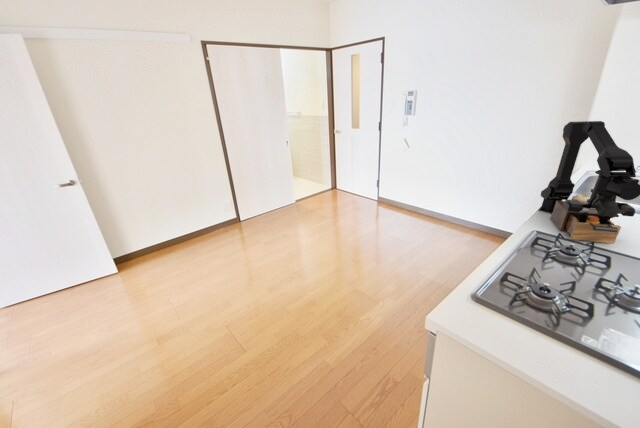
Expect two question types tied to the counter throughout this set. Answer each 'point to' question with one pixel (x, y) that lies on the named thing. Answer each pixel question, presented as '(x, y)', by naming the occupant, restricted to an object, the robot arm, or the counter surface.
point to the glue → (592, 219)
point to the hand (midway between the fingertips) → (589, 228)
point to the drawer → (591, 230)
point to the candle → (580, 198)
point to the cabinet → (565, 215)
